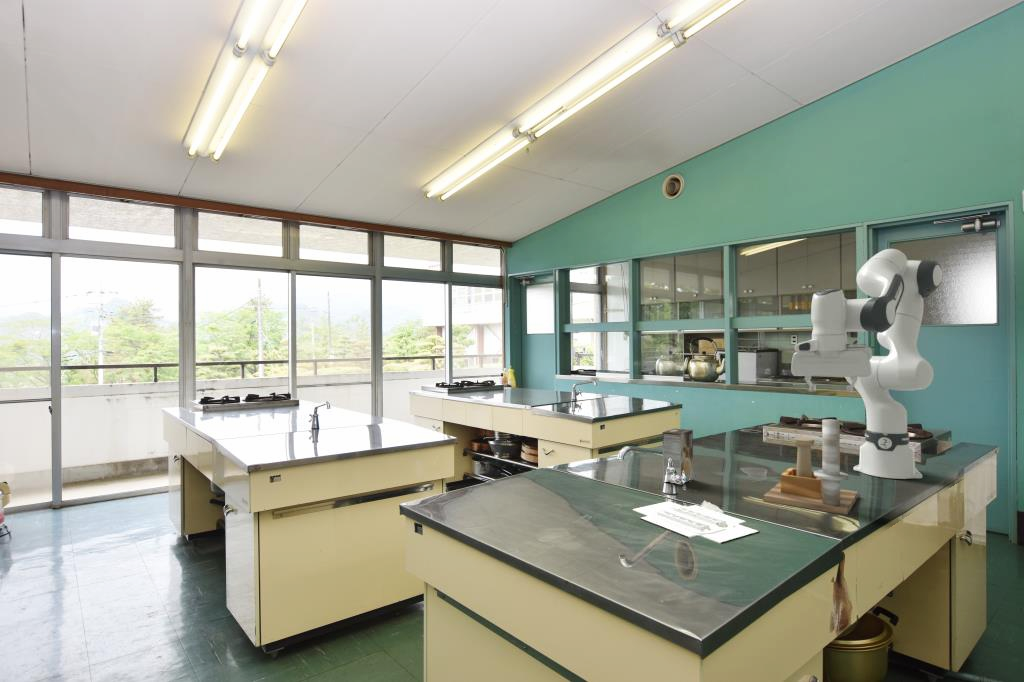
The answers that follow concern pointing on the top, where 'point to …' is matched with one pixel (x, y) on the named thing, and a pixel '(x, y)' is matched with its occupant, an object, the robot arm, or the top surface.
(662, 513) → the stacked white papers
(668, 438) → the coffee box
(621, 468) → the top surface
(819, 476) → the rosette stand
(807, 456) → the handle
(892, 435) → the robot arm
